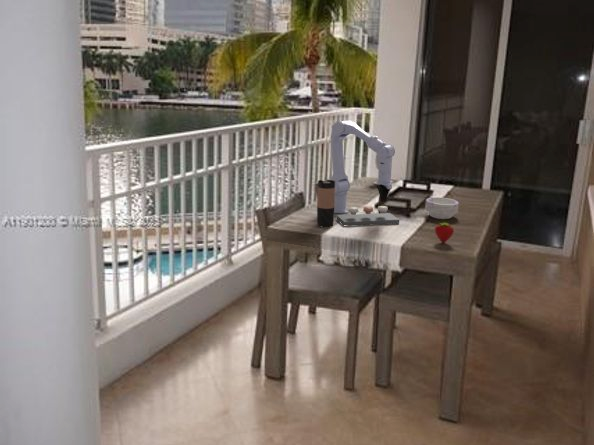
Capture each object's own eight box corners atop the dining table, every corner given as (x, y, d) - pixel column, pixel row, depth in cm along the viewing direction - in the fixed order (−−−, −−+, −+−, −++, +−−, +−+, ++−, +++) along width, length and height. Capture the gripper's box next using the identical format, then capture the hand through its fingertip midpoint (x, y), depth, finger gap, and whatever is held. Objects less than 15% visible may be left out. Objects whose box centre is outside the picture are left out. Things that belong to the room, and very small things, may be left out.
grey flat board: (344, 226, 259) (344, 222, 259) (336, 219, 270) (336, 215, 270) (399, 223, 265) (399, 219, 264) (389, 217, 276) (389, 212, 276)
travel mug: (328, 228, 255) (330, 183, 250) (313, 225, 259) (314, 181, 254) (336, 224, 262) (338, 181, 256) (322, 222, 265) (323, 179, 260)
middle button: (365, 214, 264) (365, 209, 263) (361, 212, 268) (362, 206, 267) (374, 214, 265) (374, 208, 264) (370, 211, 269) (371, 206, 268)
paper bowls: (462, 220, 273) (464, 204, 270) (431, 221, 270) (433, 204, 268) (449, 212, 287) (450, 196, 285) (420, 213, 285) (421, 197, 282)
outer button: (379, 214, 266) (379, 208, 265) (376, 211, 270) (376, 206, 269) (388, 213, 266) (389, 208, 266) (385, 211, 271) (385, 205, 270)
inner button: (350, 215, 263) (350, 209, 262) (347, 212, 267) (347, 207, 266) (359, 215, 264) (359, 209, 263) (356, 212, 268) (356, 206, 267)
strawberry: (450, 246, 234) (452, 222, 231) (431, 243, 237) (433, 219, 235) (454, 242, 239) (456, 219, 236) (436, 239, 242) (438, 216, 240)
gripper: (399, 174, 257) (397, 204, 261) (387, 168, 271) (385, 197, 274) (384, 175, 255) (382, 205, 259) (372, 169, 269) (371, 197, 273)
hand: (383, 201), depth 267 cm, fingers closed
